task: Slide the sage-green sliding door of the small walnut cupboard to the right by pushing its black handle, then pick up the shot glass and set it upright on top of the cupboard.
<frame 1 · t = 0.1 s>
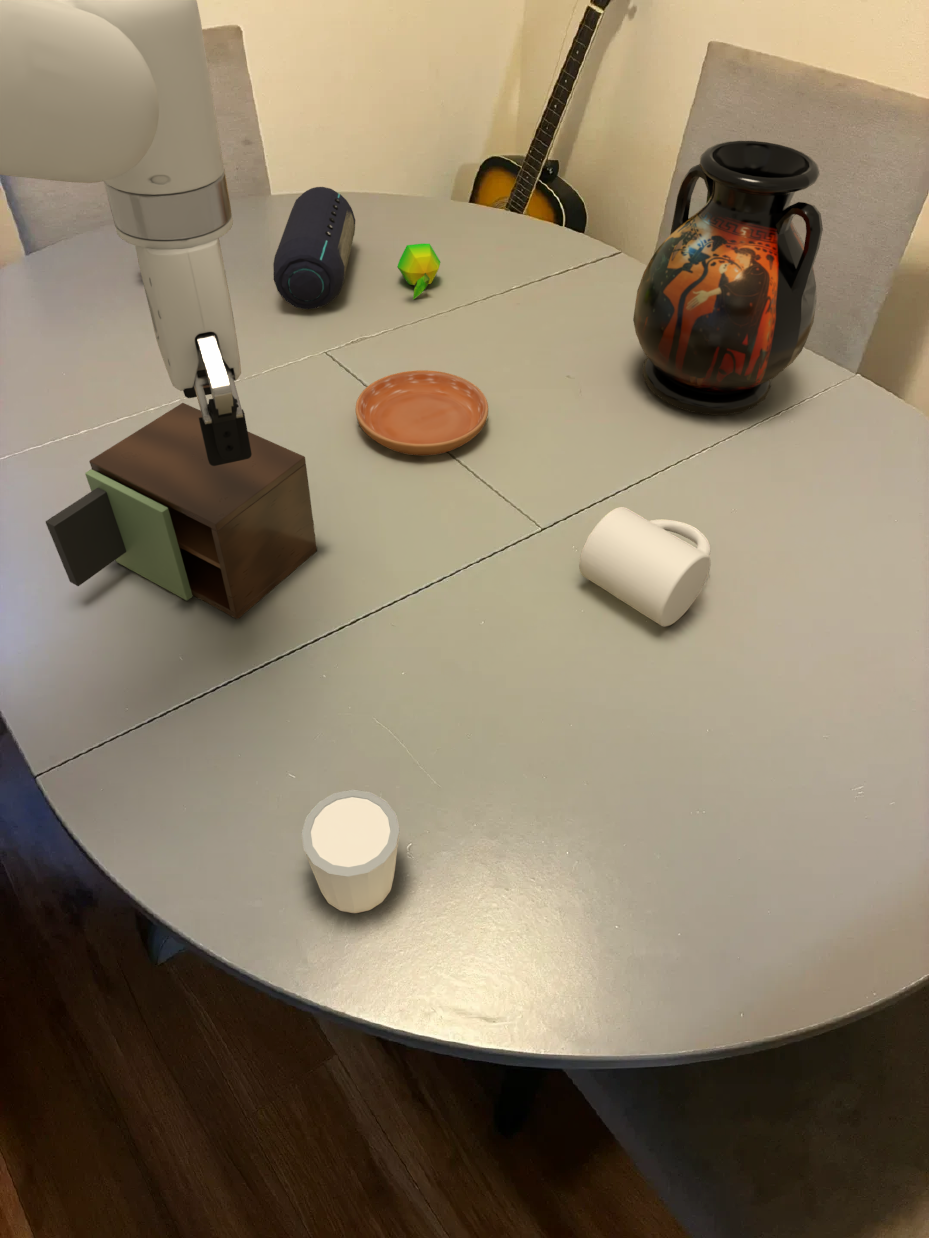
hand: (216, 425, 70), 22 cm above the table, tool pointing down, fingers open, 9 cm apart
sliding door: (116, 554, 83), point 6 cm above the table, slide at 0.0 cm
beverage can: (166, 278, 134), on the table
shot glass: (356, 879, 67), on the table
cupboard: (220, 553, 92), on the table
mug: (648, 586, 90), on the table
portable speaker: (319, 280, 135), on the table
amphora vase: (703, 386, 117), on the table
apple: (421, 287, 134), on the table
saucer: (422, 427, 109), on the table
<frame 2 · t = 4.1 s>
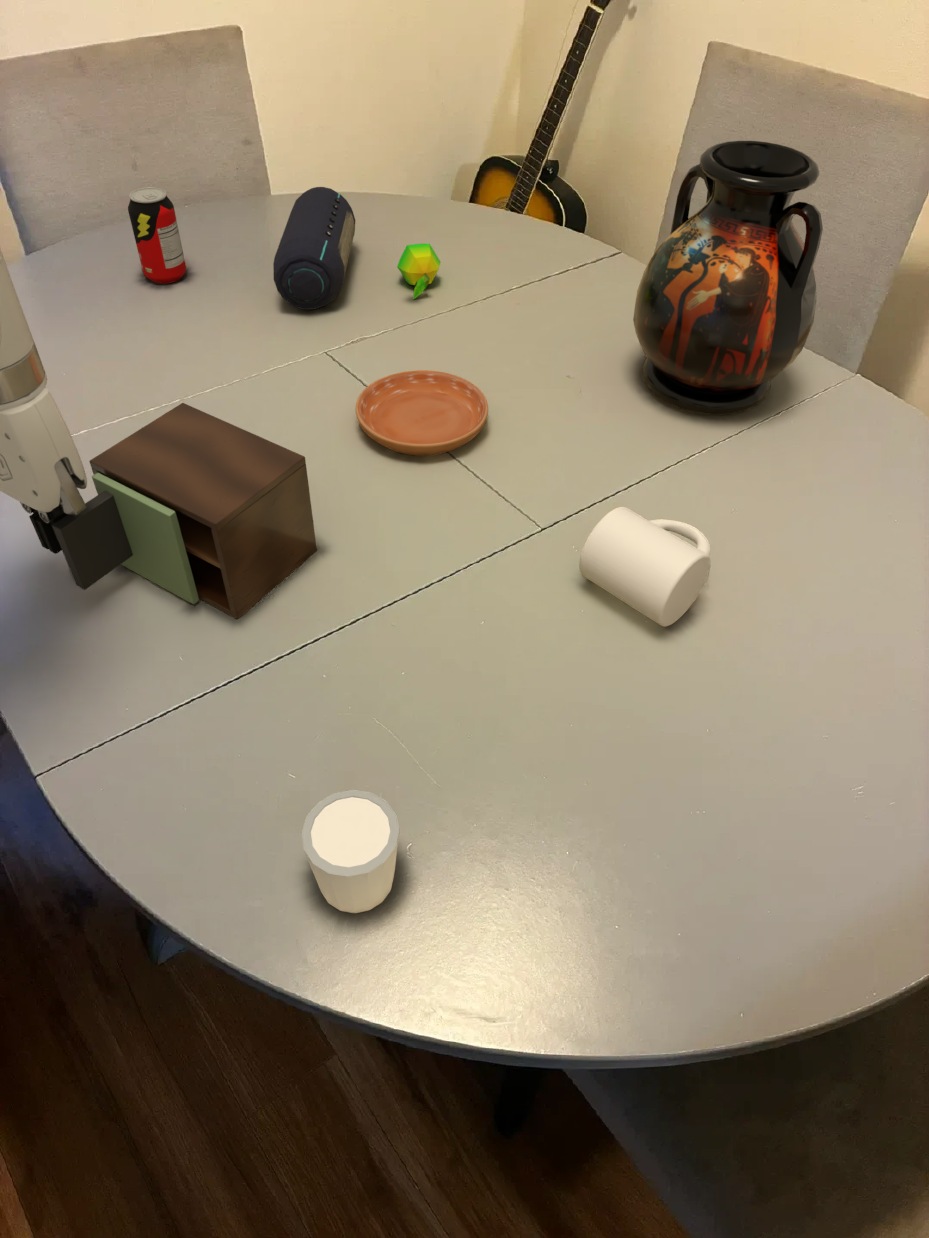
hand: (62, 542, 84), 6 cm above the table, tool pointing down, fingers closed
sliding door: (122, 557, 82), point 6 cm above the table, slide at 0.9 cm, touching gripper
everything else where it was.
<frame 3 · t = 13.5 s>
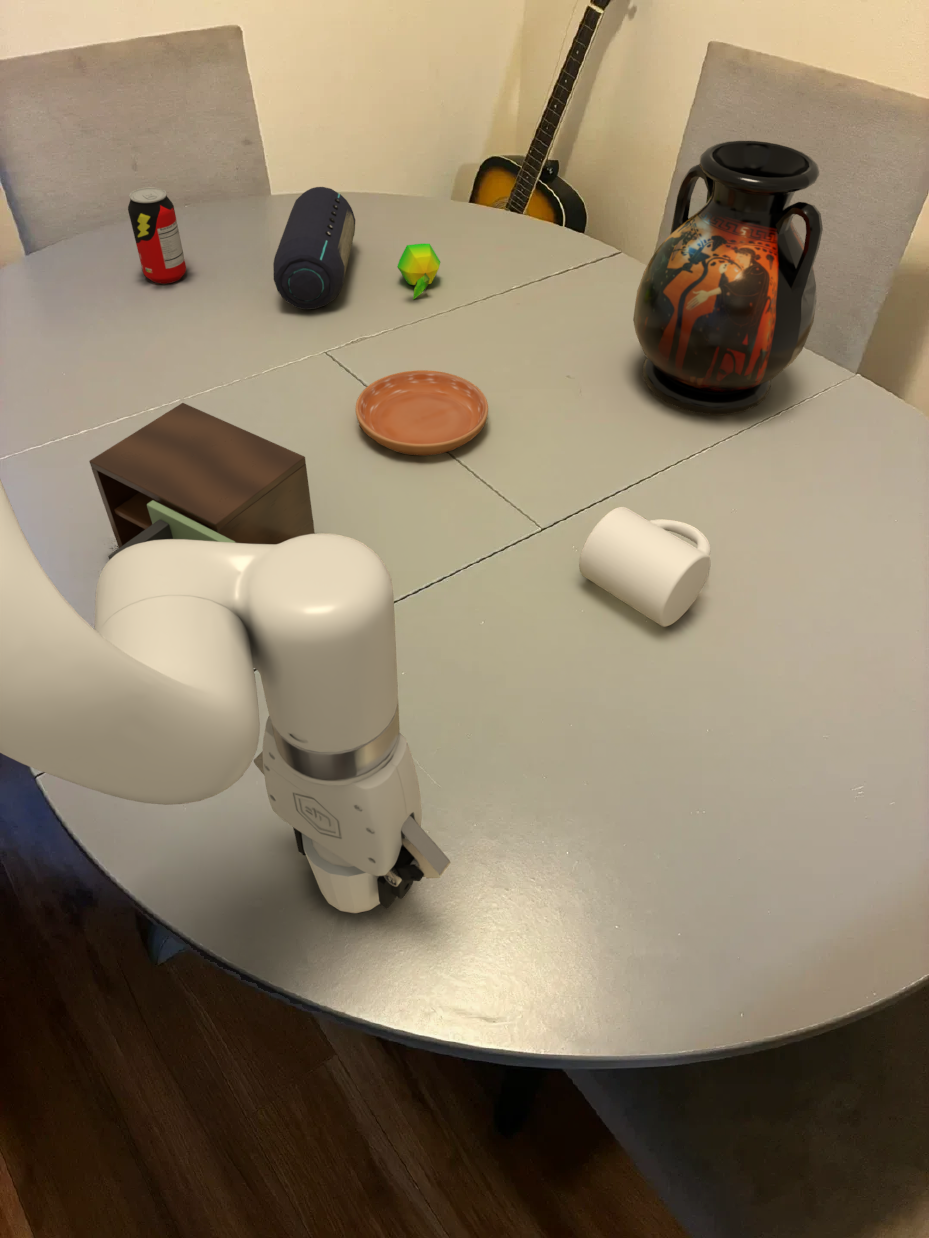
hand: (355, 863, 66), 2 cm above the table, tool pointing down, fingers closed on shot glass, 6 cm apart
sliding door: (178, 588, 80), point 6 cm above the table, slide at 8.0 cm
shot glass: (356, 879, 67), on the table, touching gripper
everything else where it was.
when the fingers open (14 cm above the table, at t = 20.9 s): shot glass stays where it is, resting on cupboard.
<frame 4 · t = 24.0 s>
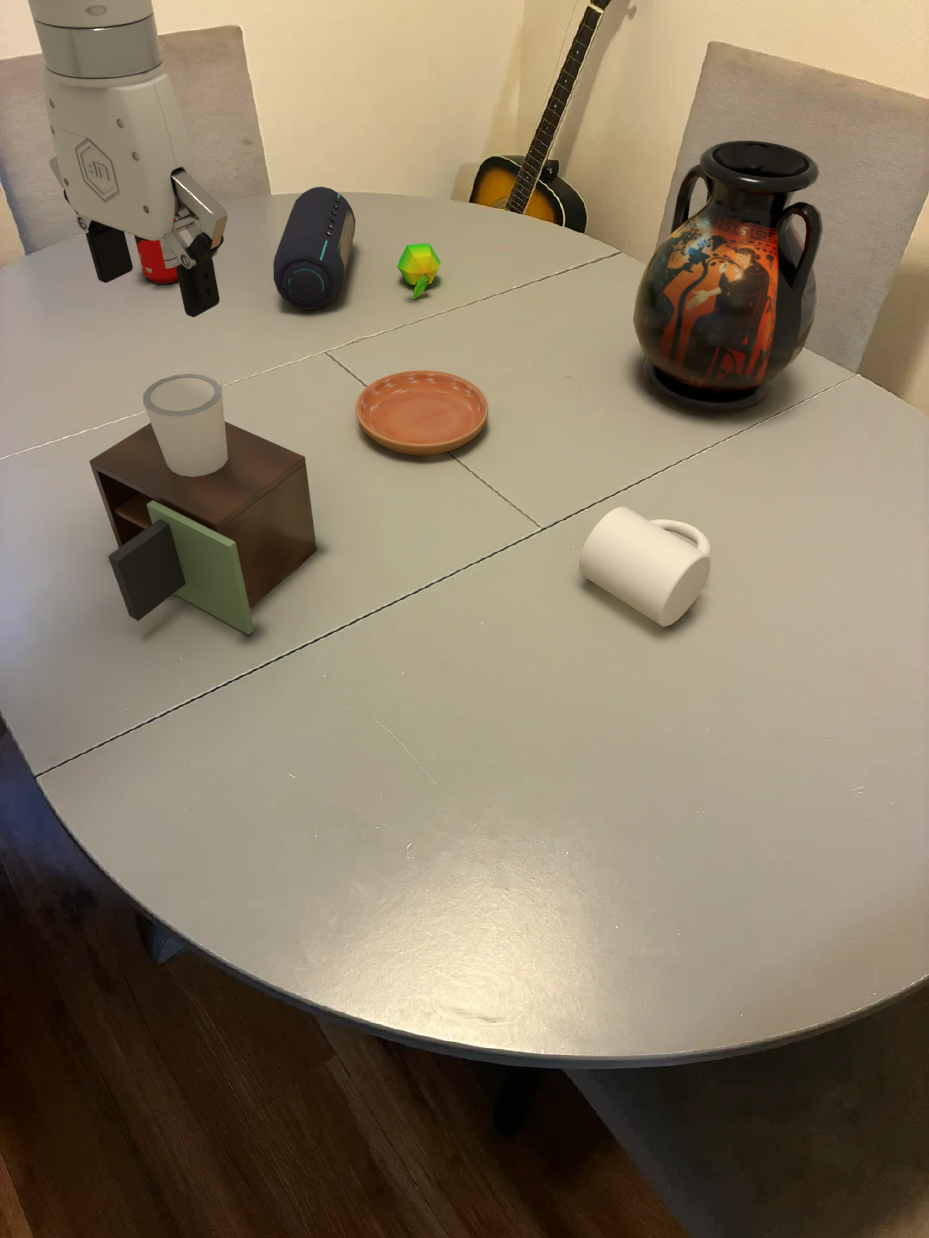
hand: (159, 292, 71), 28 cm above the table, tool pointing down, fingers open, 9 cm apart
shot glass: (198, 460, 83), point 12 cm above the table, touching cupboard
everything else where it was.
at the end: sliding door slide at 8.0 cm; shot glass inside the target area on the cupboard (0.0 cm from its centre), point 11.8 cm above the cupboard's base; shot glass tilted 0° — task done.
